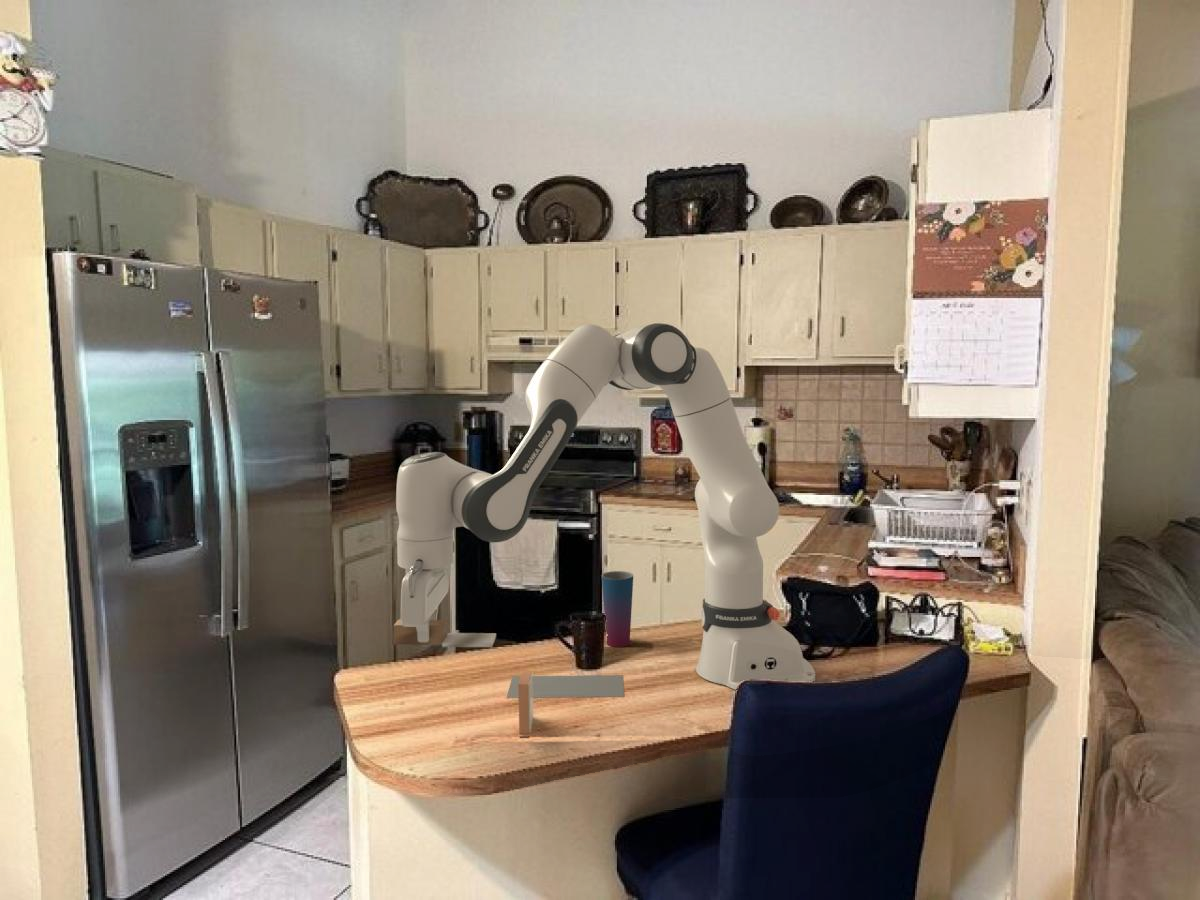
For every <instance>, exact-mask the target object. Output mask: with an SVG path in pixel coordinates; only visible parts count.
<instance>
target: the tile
mask: <svg viewBox="0 0 1200 900" xmlns="http://www.w3.org/2000/svg"><path fill="white" fill-rule="evenodd" d="M533 674H534V672H533V671H532V670H531V669H527V670H525V669H523V670H521V673H520V675H519V676H520V680H519V684H518V692H519V698H518V727H519V728H518V729H519V730H518V732H519V734H521V735H522V734H532V729H533V721H534V698H533V676H534V675H533ZM521 735H520V736H519V739H530V738H531V736H530V735H529V736H528V735H524V736H523V735H522V736H521Z"/></svg>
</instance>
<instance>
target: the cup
mask: <svg viewBox="0 0 1200 900" xmlns="http://www.w3.org/2000/svg"><path fill="white" fill-rule="evenodd" d="M601 585H602V586H601V588H602V589H601V590H602V600H603V601H602V602H603V613H604V614H603V615H605V616H606V620H607V622H606V630H607V634H608V636H607V642H606V641H605V643H607V644H606V645H607V646H609V647H612V648H623V647H628V646H629V645H630V644H629V643H630V641H631V628H632V624H631V623H632V607H633V591H634V589H633V588H634V587H633V586H634V573H632V572H630V571H623V570H611V571H606V572H604V573H602V574H601Z"/></svg>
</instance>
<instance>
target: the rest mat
mask: <svg viewBox="0 0 1200 900" xmlns="http://www.w3.org/2000/svg"><path fill="white" fill-rule="evenodd" d="M520 676H521V675H513V676H512V677H511V680H510V684H509V687H508V691H507V695H506V699H519V692H518V684H519V680H520ZM624 689H625V687H624V676H623V674H619V675H618V674H617V675H616V674H614V675H613V674H610V675H606V674H605V675H601V674H600V675H599V674H598V675H597V674H596V675H533V699H534V698H535V699H536V698H537V699H538V698H541V699H542V698H544V699H545V698H547V699H548V698H551V699H552V698H553V699H554V698H555V699H556V698H561V699H562V698H624V697H625V690H624Z"/></svg>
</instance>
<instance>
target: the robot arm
mask: <svg viewBox="0 0 1200 900" xmlns="http://www.w3.org/2000/svg"><path fill="white" fill-rule="evenodd" d="M608 384H610V385H611V386H613V387H616V388H618V389H621V390H624V391H625V390H626V391H631V390H632V391H633V390H648V389H652V388H655V387H659V388H660V389H661V390H662V391H663V392H664V394H665V395H666V396H667V399H668V400H669V404H670V407H671V410H672V411H671V412H672V414H673V417H674V420H675V422H676V425H677V428H678V432H679V435H680V438H681V439H682V443H683V446H684V449H685V452H686V455H687V457H688V459H689V460H690V461H691V463H692V465H693V467H694V468H695V471H696V473H697V475H698V476H699V480H698V482H697V483H696V485H695V488H694V499H695V502H696V506H697V512H698V522H699V530H700V536H701V542H702V551H703V556H704V598H703V599H702V606H701V625H702V629H703V632H702V633H703V634H702V642H701V647H700V653H699V658H698V661H697V664H696V667H695V671H696V674H698V675H699V676H700V677H701V678H703V679H704V680H707V681H708V682H709V681H710V682H712V683H714V684H719V685H723V686H727V687H728V688H731V689H733V690H735V691H737V690H736V688H737V686H738V684H739V683H740V682H741V681H743V680H747V679H770V680H785V681H814V682H815V681H816V671H815V669H814V667H813V665H812V664H811V663H810V662H809V661H808V660H807V659H805V658H804V656H803V652H802V648H801V645H800V643H799V641H798V639H796V638H795V637H796V636H794V635H793V634H792V633H791V632H789V631H787V630H786V629H785V628H784V627H782V626H781V625H780V624H778V623H777V620H779V618H780V616H781V613H780V612H779V610H778V609H777V607H774V606H773V604H771V603H769V602H768V600H767V599H764V560H763V556H762V555H761V551H760V549H759V544H758V539H757V537H761V536H764V535H766V534H767V533H769V532H770V531H771V530H772V529H773V528H774V526H775V525H776V523H777V521H778V519H779V515H780V504H779V501H778V498H777V497H776V495H775V493H774V491H772V489H771V488H770V486H769V484H768V482H767V480H766V478H765V475H764V474H763V471H762V469H761V467H760V465H759V462H757V460H756V457H755V456H754V455H755V454H754V453H753V452H752V450H751V448H750V446H749V444H748V441H747V440H746V437H745V435H744V433H743V430H742V426H741V423H740V421H739V418H738V415H737V413H736V408H735V406H734V403H733V399H732V397H731V394H730V391H729V388H728V385H727V383H726V381H725V378H724V376H723V374H722V372H721V370H720V368H719V366H718V364H717V363H716V361H715V359H714V357H713V355H712V354H711V353H710V352H709V351H708V350H707V349H704V348H702V347H695V346H693V345H692V344H691V342H690V341H689V339H688V337H687V336H686V335H685V334H684V333H683V332H682V331H681V330H680V329H679V328H677V327H675V326H673V325H671V324H668V323H661V322H660V323H657V322H656V323H652V324H651V323H650V324H647V325H641V326H636V327H634V328H631V329H629V330H627V331H626V332H622V333H620V334H617V335H612V333H610V332H609V331H608V330H607V329H605V328H604V327H602V326H600V325H597V324H592V323H586V324H582V325H580V326H578V327H577V328H576V329H574V330H573V331H572V332H571V333H569V334H568V335H567V336H566V337H565V338H564V339H563V340H562V341H561V342H560V343H559V344H558V345H556V347H555V348H554V349H553V350H552V351H551V353H549V354H548V356H547V357H546V359H544V361H543V362H542V363H541V365H539V367H538V368H537V369H536V371H535V373H534V374H533V375H532V378H531V379H530V382H529V383H528V385H527V387H526V389H525V397H524V398H525V403H526V406H527V409H528V410H527V411H528V412H529V414H530V417H531V419H530V420H531V422H530V426H529V429H528V431H527V432H526V435H524V437H523V439H522V440H521V441H520V443H519V445H518V446H517V447H516V449H515V451H514V452H513V454H512V455H511V457H510V458H509V459H508V461H507V462H506V464H505V465H504V467H503V468H502V469H501V470H499V471H497V472H495V473H494V474H491V473H489V472H486V471H482V470H480V469H476V468H472V467H471V466H467V465H466V464H463V463H460V462H459V461H456V460H454V459H452V458H451V457H449V456H448V455H447V454H446V453H445V452H441V451H440V452H439V451H434V452H424V453H419V454H415V455H412V456H410V457H408V458H406V459H404V461H403V462H401V464H400V466H399V468H398V472H397V478H396V492H395V494H396V495H395V502H396V503H395V504H396V505H395V506H396V514H397V516H398V523H399V524H398V529H397V533H396V551H397V552H396V553H397V555H396V556H397V565H398V567H400V568H401V569H405V575H404V577H402V581H401V585H400V586H401V589H400V620H401V622H402V625H403V626H405V627H416V629H417V637H418V642H428V641H429V639H430V637H431V635H430V629H429V621H430V620H438V613H439V605H441V602H442V601H443V600H444V598H445V596H446V595H447V594H448V592H449V588H450V583H451V570H452V569H451V568H452V567H451V566H452V564H453V563H454V553H455V541H454V529H456V528H460V527H464V528H465V529H467V530H470V532H471V533H473V535H474V536H476V537H477V538H478V539H480V540H482V541H484V542H488V543H502V542H506V541H508V540H510V539H512V538H514V537H515V536H516V535H518V534H519V533H520V532H521V531H522V529H523V528H524V526H525V525H526V522H527V521H528V518H529V515H530V512H531V508H532V505H533V501H534V499H535V496H536V494H537V493H538V490H539V488H540V486H541V485H542V483H543V482H544V480H545V479H546V477H547V476H548V474H549V472H550V471H551V470H552V468H553V467H554V465H555V464H556V462H557V461H558V459H559V457H560V456H561V454H562V452H564V450H565V448H566V446H567V444H568V443H569V441H570V440H571V437H572V436H573V434H574V432H575V430H576V428H577V425H578V424H579V423H580V421H581V419H582V418H583V416H584V414H585V413H586V412H587V411H588V410H589V409H590V407H591V405H592V404H593V403H594V401H595V400H596V399H597V397H599V395H600V394H601V392H602V391H603V389H604V388H605V387H606V386H607V385H608Z"/></svg>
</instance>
